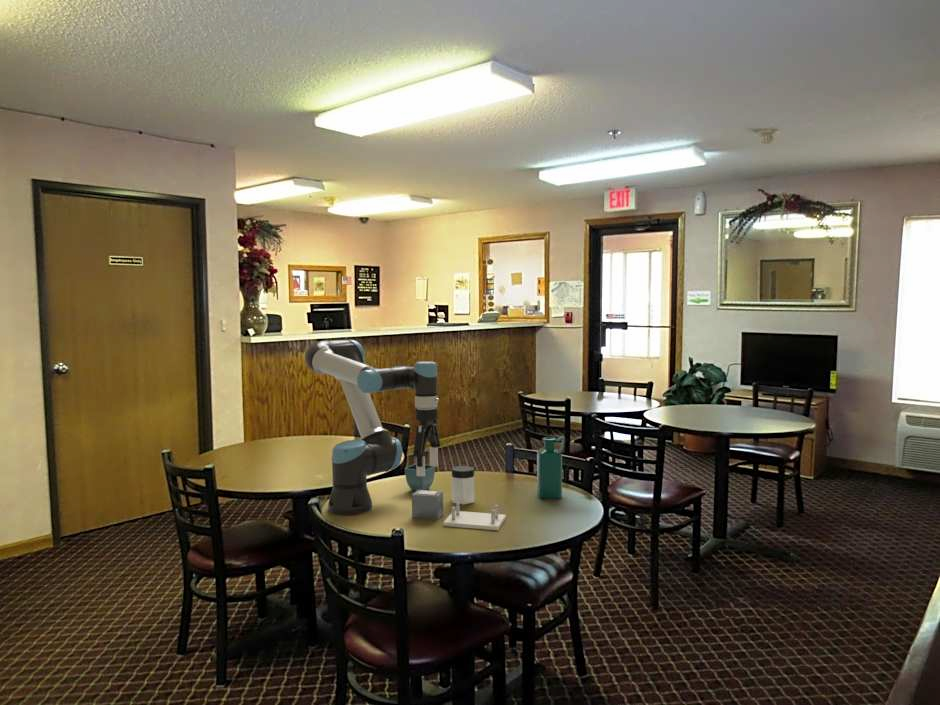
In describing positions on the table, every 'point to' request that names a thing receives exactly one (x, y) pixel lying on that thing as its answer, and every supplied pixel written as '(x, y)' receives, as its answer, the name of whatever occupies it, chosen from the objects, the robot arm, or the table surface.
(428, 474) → the flower pot
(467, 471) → the jar
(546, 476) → the pitcher
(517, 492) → the table surface
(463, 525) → the pin tray
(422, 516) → the block
